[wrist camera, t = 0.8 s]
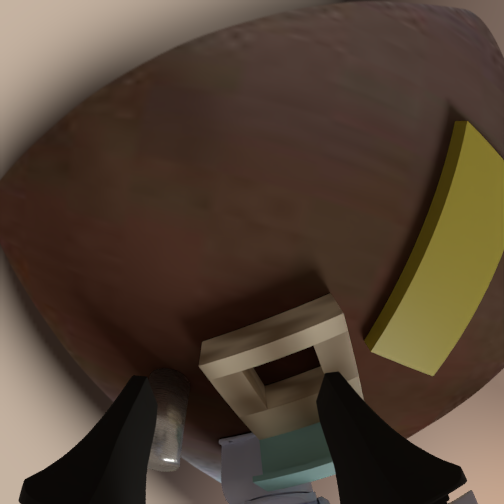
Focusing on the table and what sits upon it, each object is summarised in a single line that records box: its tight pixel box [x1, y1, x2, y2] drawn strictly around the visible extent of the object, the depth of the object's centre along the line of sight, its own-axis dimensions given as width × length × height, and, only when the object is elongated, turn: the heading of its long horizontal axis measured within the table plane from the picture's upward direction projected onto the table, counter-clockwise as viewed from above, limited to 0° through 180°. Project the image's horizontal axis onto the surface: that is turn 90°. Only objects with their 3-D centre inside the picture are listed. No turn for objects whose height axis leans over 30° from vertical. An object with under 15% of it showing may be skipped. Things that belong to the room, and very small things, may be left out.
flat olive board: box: [364, 121, 504, 376], centre depth 20 cm, size 12×2×24 cm
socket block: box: [199, 293, 363, 440], centre depth 22 cm, size 11×13×3 cm
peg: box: [147, 368, 190, 471], centre depth 19 cm, size 4×4×9 cm
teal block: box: [252, 422, 336, 492], centre depth 19 cm, size 11×4×6 cm, turn 112°
